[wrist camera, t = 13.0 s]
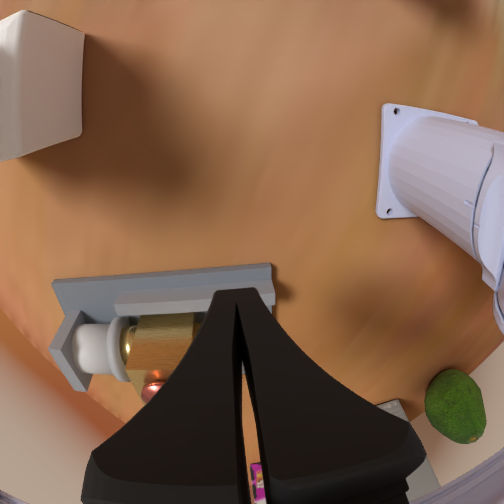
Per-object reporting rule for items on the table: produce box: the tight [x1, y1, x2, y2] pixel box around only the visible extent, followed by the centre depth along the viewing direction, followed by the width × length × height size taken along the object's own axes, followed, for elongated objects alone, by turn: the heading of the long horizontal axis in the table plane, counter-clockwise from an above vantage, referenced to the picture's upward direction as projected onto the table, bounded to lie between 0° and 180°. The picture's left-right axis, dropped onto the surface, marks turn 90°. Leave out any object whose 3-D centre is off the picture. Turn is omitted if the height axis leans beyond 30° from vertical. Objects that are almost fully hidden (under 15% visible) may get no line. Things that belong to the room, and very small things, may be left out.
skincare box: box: [377, 399, 441, 502], centre depth 27 cm, size 8×7×16 cm
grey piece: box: [48, 263, 275, 392], centre depth 20 cm, size 17×10×5 cm, turn 93°
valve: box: [119, 312, 202, 405], centre depth 19 cm, size 7×4×7 cm, turn 93°
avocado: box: [424, 369, 486, 444], centre depth 27 cm, size 8×8×12 cm
